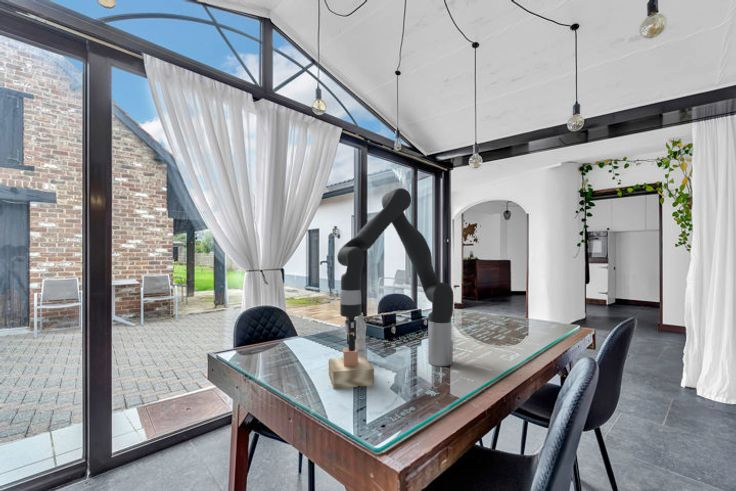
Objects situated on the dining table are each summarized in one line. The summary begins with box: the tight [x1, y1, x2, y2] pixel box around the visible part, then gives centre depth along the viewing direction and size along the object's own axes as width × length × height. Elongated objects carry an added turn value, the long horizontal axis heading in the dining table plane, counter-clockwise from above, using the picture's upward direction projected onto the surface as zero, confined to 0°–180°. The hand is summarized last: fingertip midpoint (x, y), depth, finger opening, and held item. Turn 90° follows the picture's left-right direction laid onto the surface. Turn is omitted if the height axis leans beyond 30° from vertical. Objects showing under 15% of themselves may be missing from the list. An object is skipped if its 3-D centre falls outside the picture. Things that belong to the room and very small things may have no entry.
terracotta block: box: [342, 347, 358, 366], centre depth 123 cm, size 5×5×5 cm
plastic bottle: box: [353, 312, 368, 358], centre depth 143 cm, size 6×7×20 cm
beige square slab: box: [328, 357, 375, 390], centre depth 123 cm, size 14×14×6 cm
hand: (350, 347), depth 123 cm, fingers open, 8 cm apart
